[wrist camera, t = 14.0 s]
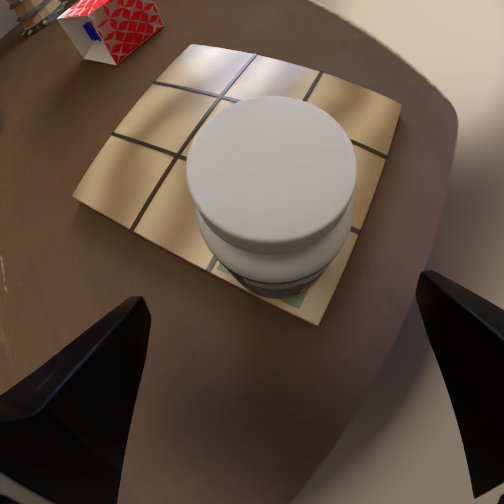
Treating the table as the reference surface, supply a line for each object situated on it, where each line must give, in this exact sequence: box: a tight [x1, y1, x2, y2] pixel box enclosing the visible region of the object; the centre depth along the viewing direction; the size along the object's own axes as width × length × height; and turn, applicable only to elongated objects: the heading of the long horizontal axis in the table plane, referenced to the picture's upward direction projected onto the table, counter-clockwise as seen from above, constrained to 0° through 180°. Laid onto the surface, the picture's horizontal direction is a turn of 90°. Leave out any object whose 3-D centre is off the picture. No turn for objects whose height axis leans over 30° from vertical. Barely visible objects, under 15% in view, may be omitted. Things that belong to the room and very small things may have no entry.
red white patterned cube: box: [57, 0, 164, 65], centre depth 23 cm, size 8×8×8 cm
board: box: [72, 44, 402, 326], centre depth 20 cm, size 20×18×1 cm
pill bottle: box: [186, 96, 358, 299], centre depth 12 cm, size 6×6×10 cm
